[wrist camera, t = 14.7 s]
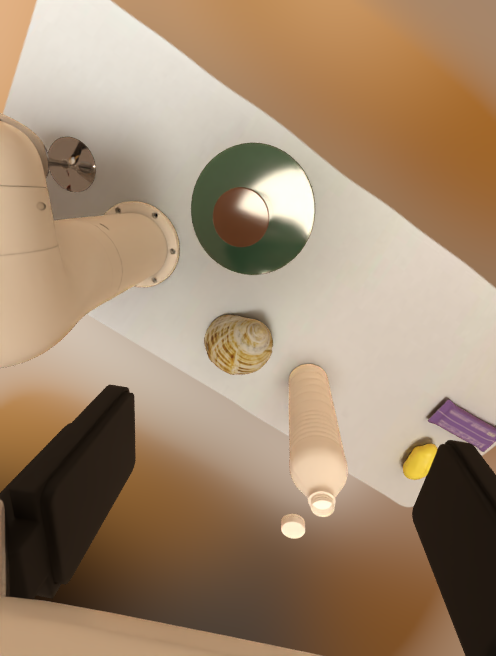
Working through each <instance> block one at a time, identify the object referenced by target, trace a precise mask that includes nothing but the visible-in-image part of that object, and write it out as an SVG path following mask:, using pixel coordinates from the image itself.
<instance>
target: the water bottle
mask: <svg viewBox="0 0 496 656" xmlns="http://www.w3.org/2000/svg"><path fill="white" fill-rule="evenodd" d="M289 437H290V439H289V440H290V460H289V465H290V466H289V468H290V474H291V477H292V480H293V482H294V484H295V485H296V487H297V488H298V489H299V490H300V491H301V492H302V493H303V494H304V495H305V496H306V497H307V498H308V503H309V505H310V507H311V510H312V512H313V513H314V514H315V515H317V516H320V517H326V516H329V515H331V514H332V513H333V512H334V506H335V503H336V500H335V497H336V496H337V494H338V493H339V492H340V491H341V489H342V488H343V487H344V485H345V482H346V478H347V473H348V469H347V462H346V458H345V455H344V450H343V446H342V441H341V437H340V432H339V428H338V423H337V418H336V414H335V409H334V404H333V401H332V395H331V391H330V386H329V381H328V377H327V375H326V373H325V371H324V370H323V369H322V368H320V367H319V366H316V365H313V364H305V365H300V366H298V367H296V368H295V369H294V370H293V371H292V373H291V374H290V377H289ZM294 516H296V517H294ZM284 518H285V519H284ZM281 530H282V533H283V534H284V535H285V536H287V537H289V538H299V537H301V536H302V535H304V533H305V521H304V519H303V518H302V517H301V516H299V515H297V514H288V515H285V516H284V517H283V518H282V521H281Z"/></svg>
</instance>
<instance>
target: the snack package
mask: <svg viewBox="0 0 496 656" xmlns="http://www.w3.org/2000/svg"><path fill="white" fill-rule="evenodd" d="M428 422H430V423H434V424H436V425H438V426H440V427H442V428H443V429H445V430H447V431H449V432H451V433H453V434H454V435H456V436H458V437H460V438H461V439H463V440H465V441H467V442H469V443H470V444H472V445H474V446H476V447H477V448H479V450H481V451H482V452H484V451H485V450H486V449H487V448H488V447H490V446H491V445H492V444H493V443H494V442H495V441H496V428H495V427H493V426H491V425H489V424H487V423H486V422H484V421H482V420H480V419H479V418H477V417H475V416H473V415H471V414H470V413H468V412H466V411H464V410H463V409H461V408H459V407H458V406H456V405H455V404H454V403H453V402H452V401H450V400H447V401H446V402H445V403H444V404H443V405H442V406H441V407H440V408H439V409H438V410H437V411H436V412H435V413H434V414H433V415H432V416H431V417H430V419H429V420H428Z"/></svg>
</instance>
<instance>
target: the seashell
mask: <svg viewBox="0 0 496 656" xmlns="http://www.w3.org/2000/svg"><path fill="white" fill-rule="evenodd" d="M204 344H205V347H206V351H207V354H208V357H209V359H210V360H211V361H212V362H213V363H214V364H215V365H216V366H217V367H219V368H220V369H221V370H223V371H225V372H227V373H229V374H232V375H234V374H249V373H253V372H255V371H257V370H259V369H260V368H261V367H262V366H263V365H264V364H265V363H266V362H267V361H268V359H269V357H270V356H271V353H272V346H273V340H272V336H271V333H270V331H269V329H268V328H267V327H266V326H265V325H264V324H263V323H262V322H260V321H259V320H256V319H249V318H245V317H241V316H235V315H223V316H220V317H218V318H217V319H215V320H214V321H213V322H212V323H211V325H210V326H209V328H208V330H207V332H206V334H205V338H204Z"/></svg>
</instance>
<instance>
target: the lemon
mask: <svg viewBox="0 0 496 656" xmlns="http://www.w3.org/2000/svg"><path fill="white" fill-rule="evenodd" d="M437 450H438V449H437V447H436V446H435V445H434V444H426V445H423V446H417V447H415V448H414V449H413V451H412V453H411V454H410V455H409V457H408V459H407V460H406V461H405V463H404V465H403V473H404V475H405V476H406V477H407V478H409V479H413V480H417V479H421V478H423V477H425V476H426V475H427V474H428V471H429V469H430V467H431V464H432V462H433V460H434V457H435V455H436V452H437Z"/></svg>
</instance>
